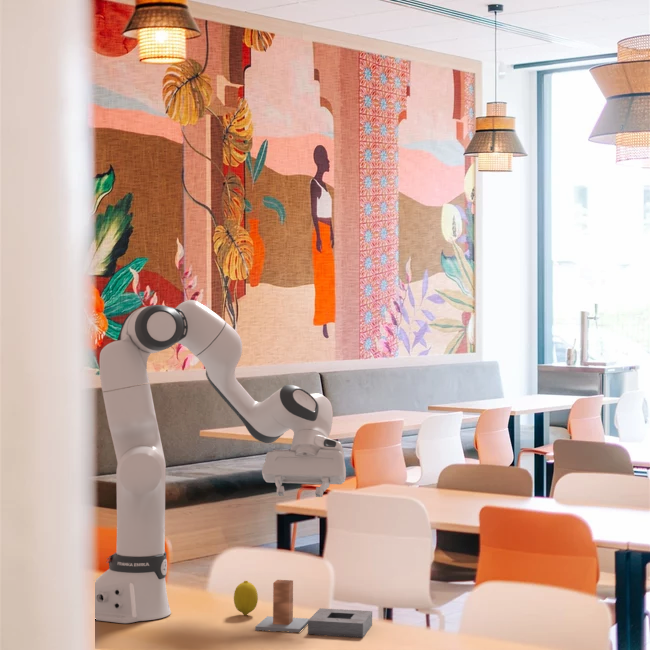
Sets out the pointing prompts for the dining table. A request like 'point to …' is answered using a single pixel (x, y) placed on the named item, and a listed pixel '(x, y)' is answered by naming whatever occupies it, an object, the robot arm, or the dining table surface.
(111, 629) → the dining table surface
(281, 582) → the peg
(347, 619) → the collar block
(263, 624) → the mat
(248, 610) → the lemon
